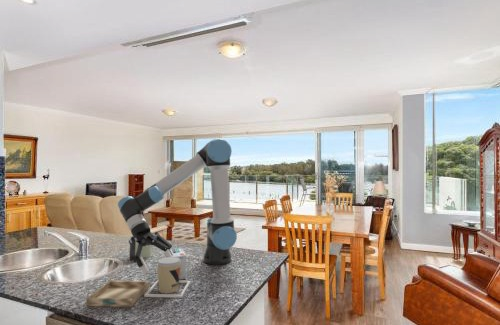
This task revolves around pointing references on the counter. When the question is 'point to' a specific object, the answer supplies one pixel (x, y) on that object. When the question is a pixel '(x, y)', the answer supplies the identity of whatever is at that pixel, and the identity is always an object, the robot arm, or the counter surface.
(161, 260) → the coffee cup
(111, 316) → the counter surface
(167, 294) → the white flat square frame
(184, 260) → the light bulb box
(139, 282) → the wooden tray
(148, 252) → the can
